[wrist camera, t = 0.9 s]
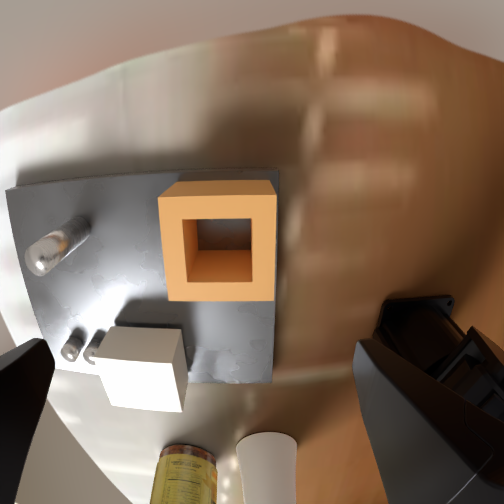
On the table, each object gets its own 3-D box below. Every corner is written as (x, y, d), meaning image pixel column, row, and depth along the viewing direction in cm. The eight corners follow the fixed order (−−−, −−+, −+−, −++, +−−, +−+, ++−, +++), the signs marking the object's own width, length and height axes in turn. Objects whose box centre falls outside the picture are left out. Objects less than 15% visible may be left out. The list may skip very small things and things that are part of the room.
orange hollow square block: (269, 180, 17) (276, 195, 13) (268, 265, 19) (273, 300, 15) (176, 181, 17) (157, 197, 13) (182, 266, 19) (168, 300, 15)
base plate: (276, 168, 18) (292, 187, 12) (270, 372, 23) (276, 435, 18) (15, 186, 17) (-44, 210, 12) (61, 359, 23) (31, 408, 17)
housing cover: (181, 329, 20) (171, 363, 17) (188, 377, 22) (182, 412, 18) (110, 326, 20) (93, 357, 17) (124, 373, 22) (111, 405, 18)
